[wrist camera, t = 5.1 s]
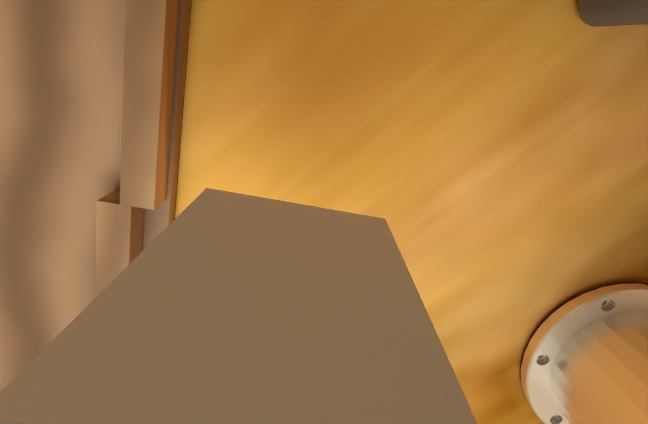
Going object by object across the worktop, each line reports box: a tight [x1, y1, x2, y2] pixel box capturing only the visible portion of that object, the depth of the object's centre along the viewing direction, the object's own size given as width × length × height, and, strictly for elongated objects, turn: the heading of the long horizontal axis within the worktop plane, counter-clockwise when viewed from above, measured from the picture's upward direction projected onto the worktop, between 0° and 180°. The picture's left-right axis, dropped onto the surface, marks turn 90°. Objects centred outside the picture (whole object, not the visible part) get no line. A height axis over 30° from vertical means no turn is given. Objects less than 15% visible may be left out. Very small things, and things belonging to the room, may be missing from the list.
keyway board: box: [0, 0, 191, 392], centre depth 24 cm, size 16×30×4 cm, turn 170°
